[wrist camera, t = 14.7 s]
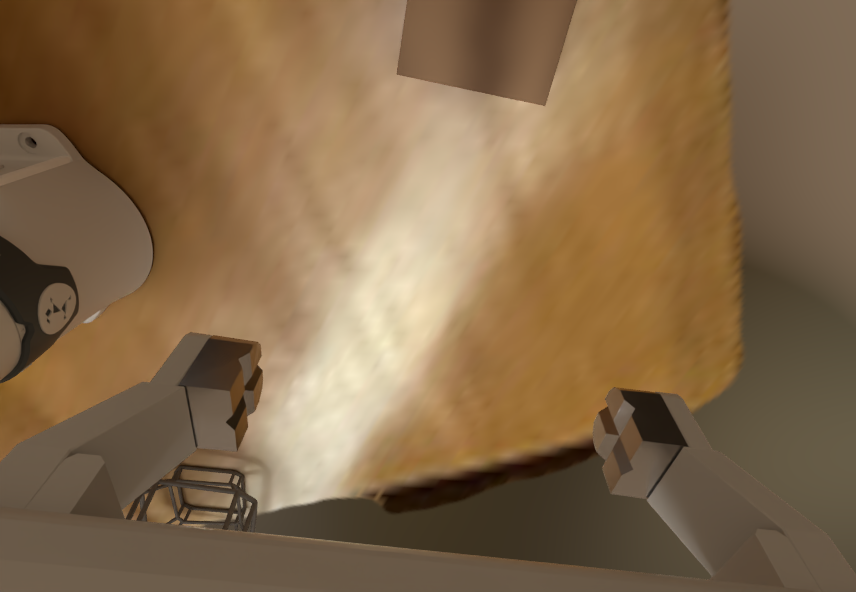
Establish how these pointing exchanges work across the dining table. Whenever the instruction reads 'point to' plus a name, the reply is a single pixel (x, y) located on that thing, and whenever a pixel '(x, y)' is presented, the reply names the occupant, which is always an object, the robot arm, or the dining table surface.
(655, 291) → the dining table surface
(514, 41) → the tea box
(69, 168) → the robot arm
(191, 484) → the geometric lantern
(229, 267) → the dining table surface
